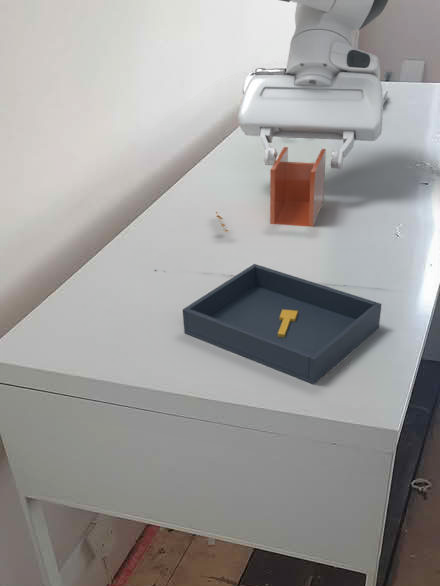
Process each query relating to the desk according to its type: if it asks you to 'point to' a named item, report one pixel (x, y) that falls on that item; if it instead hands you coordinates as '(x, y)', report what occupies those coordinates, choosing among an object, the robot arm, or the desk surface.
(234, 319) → the tray
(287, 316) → the key
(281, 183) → the orange open trough
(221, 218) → the orange stick
